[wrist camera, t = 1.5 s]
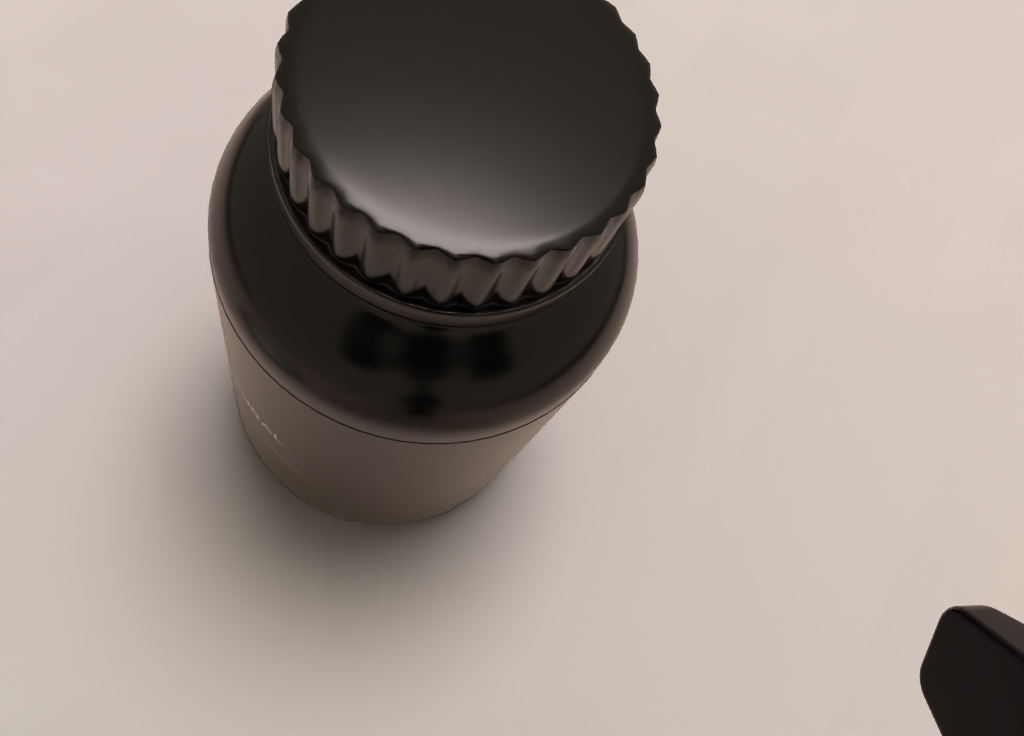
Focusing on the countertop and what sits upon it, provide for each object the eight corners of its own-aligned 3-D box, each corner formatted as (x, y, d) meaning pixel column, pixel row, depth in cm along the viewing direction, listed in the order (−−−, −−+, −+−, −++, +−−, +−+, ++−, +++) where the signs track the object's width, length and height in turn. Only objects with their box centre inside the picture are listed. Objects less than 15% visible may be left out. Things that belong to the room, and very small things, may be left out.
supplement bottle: (173, 427, 21) (29, 108, 10) (345, 212, 23) (387, -228, 12) (432, 591, 21) (582, 459, 10) (573, 357, 23) (818, 46, 12)
